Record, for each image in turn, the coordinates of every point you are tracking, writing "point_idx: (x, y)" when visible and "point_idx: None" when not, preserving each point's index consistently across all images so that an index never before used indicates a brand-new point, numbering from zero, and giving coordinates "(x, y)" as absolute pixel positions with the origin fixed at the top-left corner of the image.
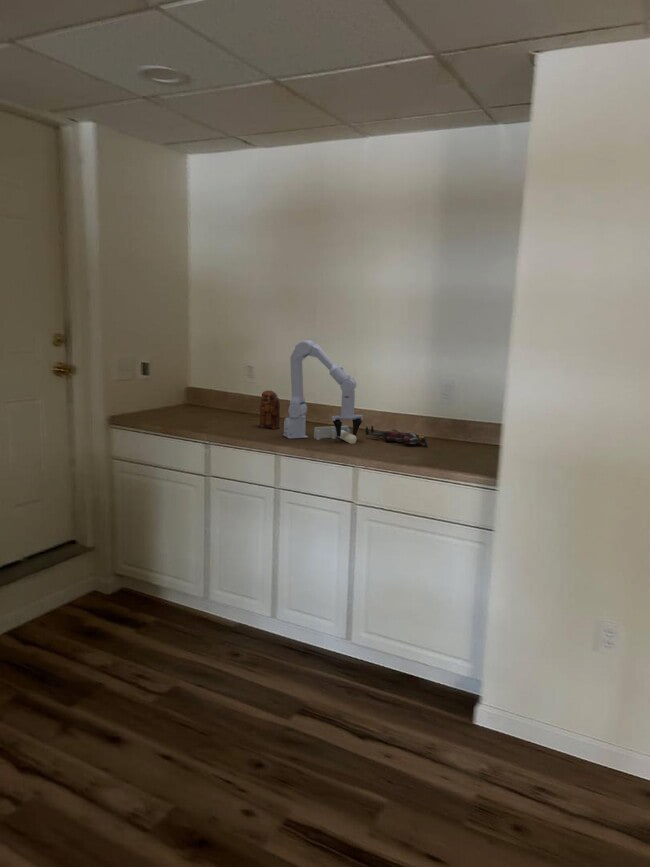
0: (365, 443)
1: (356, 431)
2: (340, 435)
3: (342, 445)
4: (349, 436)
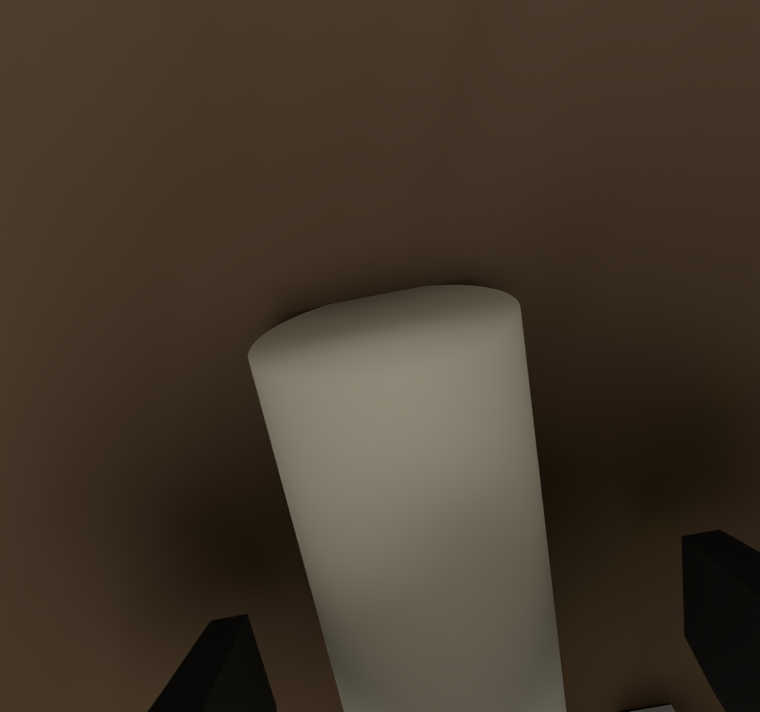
0: (28, 282)
1: (172, 706)
2: (705, 546)
3: (710, 73)
4: (499, 350)
